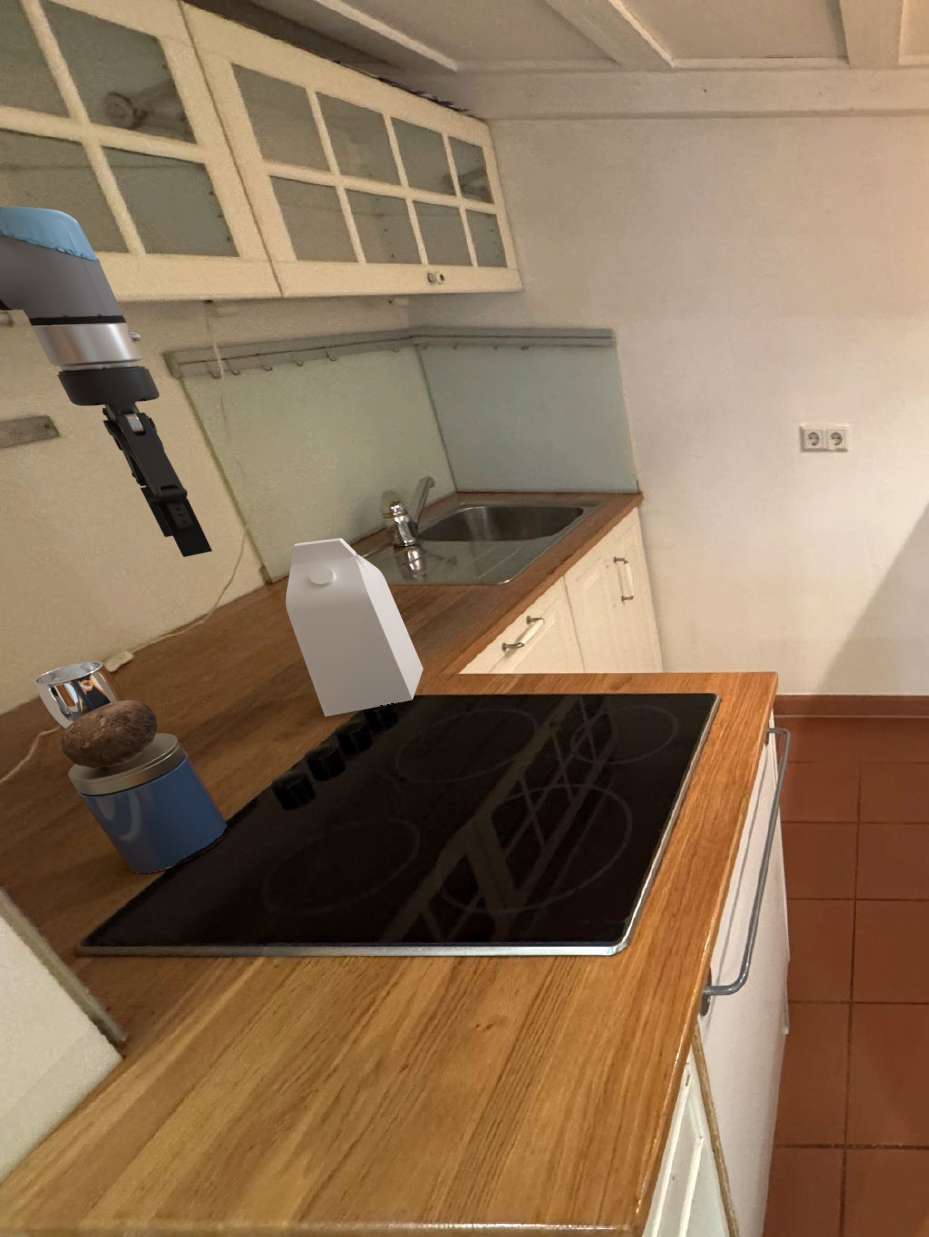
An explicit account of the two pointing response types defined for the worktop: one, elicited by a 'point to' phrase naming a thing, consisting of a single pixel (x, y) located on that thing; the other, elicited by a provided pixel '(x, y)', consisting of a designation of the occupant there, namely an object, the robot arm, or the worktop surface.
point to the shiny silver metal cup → (77, 690)
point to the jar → (159, 818)
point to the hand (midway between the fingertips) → (187, 543)
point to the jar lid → (130, 768)
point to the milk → (349, 629)
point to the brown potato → (110, 734)
